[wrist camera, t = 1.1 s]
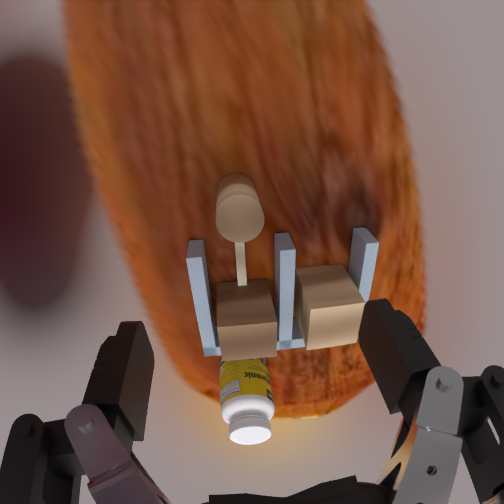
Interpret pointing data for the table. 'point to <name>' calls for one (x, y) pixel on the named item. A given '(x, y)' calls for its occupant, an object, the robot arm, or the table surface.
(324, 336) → the oak block
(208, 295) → the lane shelf
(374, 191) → the table surface
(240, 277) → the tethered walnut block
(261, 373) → the supplement bottle
